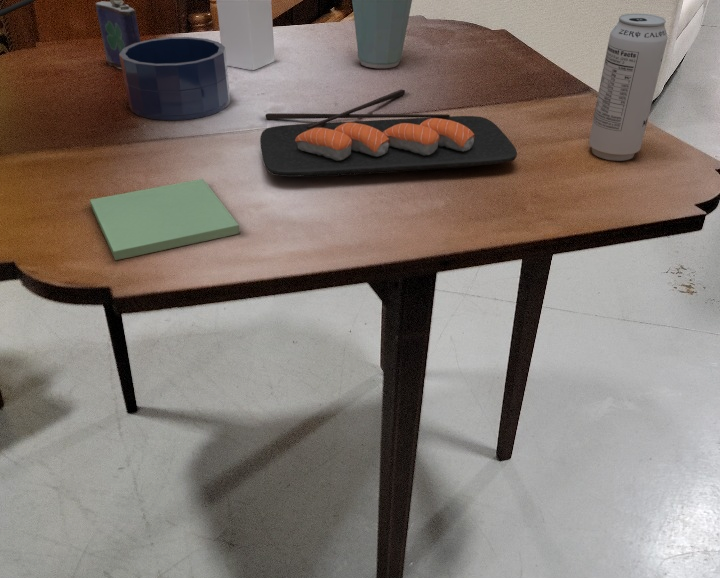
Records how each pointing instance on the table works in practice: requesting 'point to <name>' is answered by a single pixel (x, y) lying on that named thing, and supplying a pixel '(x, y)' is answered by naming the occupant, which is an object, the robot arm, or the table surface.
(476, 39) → the table surface
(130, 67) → the pot
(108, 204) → the mat
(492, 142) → the sushi plate
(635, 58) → the energy drink can
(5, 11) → the robot arm
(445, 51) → the table surface
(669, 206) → the table surface
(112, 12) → the flask
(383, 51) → the disposable coffee cup
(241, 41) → the milk
